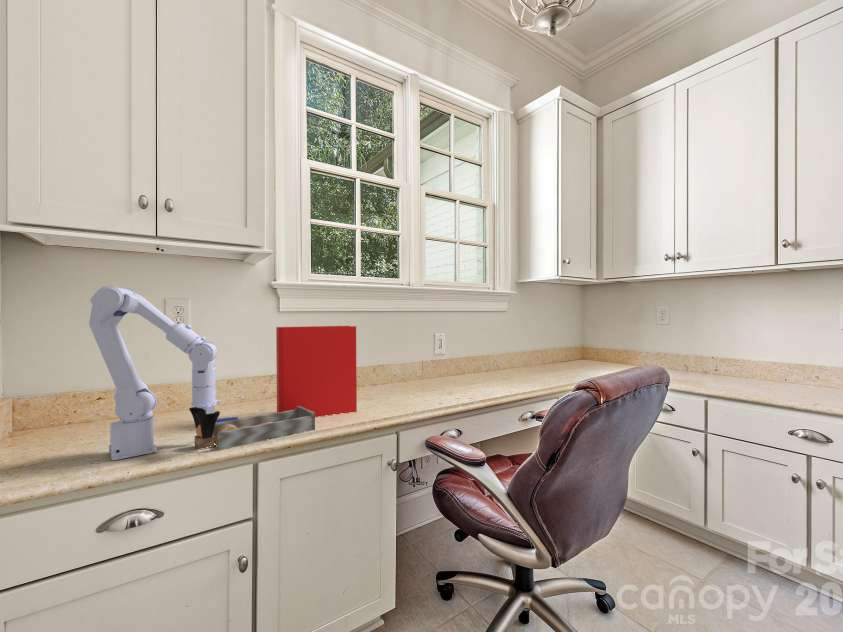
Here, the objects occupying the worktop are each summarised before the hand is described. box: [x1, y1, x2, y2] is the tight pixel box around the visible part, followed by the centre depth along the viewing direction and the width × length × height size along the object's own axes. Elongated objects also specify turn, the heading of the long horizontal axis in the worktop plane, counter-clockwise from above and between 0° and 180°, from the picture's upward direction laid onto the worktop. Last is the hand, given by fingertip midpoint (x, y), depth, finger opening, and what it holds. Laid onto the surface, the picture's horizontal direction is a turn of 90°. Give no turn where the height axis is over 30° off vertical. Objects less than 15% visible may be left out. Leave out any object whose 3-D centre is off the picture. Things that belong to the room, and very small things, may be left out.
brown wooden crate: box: [194, 434, 215, 450], centre depth 108 cm, size 4×4×3 cm
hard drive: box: [216, 416, 239, 423], centre depth 129 cm, size 2×8×12 cm
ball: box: [195, 425, 203, 438], centre depth 108 cm, size 4×4×4 cm
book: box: [275, 325, 358, 418], centre depth 143 cm, size 27×8×32 cm, turn 118°
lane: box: [213, 406, 316, 451], centre depth 119 cm, size 28×12×10 cm, turn 131°
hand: (204, 434), depth 108 cm, fingers open, 6 cm apart
